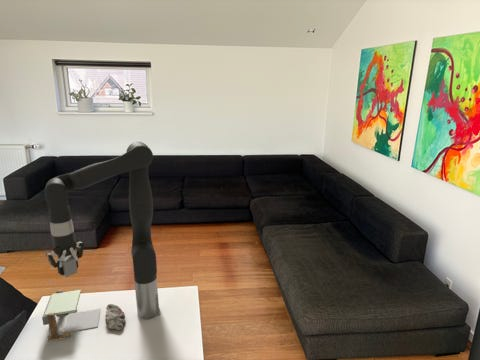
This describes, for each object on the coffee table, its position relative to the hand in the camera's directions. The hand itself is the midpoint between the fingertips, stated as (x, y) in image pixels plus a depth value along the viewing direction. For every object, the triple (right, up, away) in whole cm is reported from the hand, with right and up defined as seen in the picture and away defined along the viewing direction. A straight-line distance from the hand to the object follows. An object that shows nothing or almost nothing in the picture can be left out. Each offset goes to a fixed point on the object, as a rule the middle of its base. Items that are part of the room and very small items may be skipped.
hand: (68, 271), depth 133 cm
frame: (-8, -25, +11) cm, 29 cm away
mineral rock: (+13, -25, +14) cm, 31 cm away
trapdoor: (-7, -19, +10) cm, 22 cm away
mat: (-1, -25, +14) cm, 28 cm away
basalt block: (0, -1, 0) cm, 1 cm away
